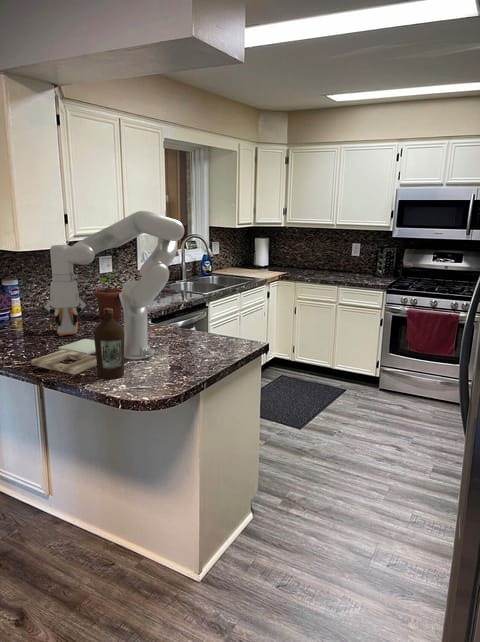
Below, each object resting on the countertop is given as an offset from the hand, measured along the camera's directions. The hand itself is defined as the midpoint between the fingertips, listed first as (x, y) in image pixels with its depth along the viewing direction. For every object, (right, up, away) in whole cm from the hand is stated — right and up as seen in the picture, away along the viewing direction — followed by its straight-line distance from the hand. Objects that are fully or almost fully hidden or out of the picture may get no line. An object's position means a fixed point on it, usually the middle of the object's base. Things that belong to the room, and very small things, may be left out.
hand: (66, 324), depth 177 cm
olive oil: (+19, -19, -8) cm, 28 cm away
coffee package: (-18, -5, +48) cm, 51 cm away
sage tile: (-1, -10, +25) cm, 27 cm away
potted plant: (-4, +2, +77) cm, 78 cm away
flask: (0, -3, +1) cm, 3 cm away
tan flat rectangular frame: (-1, -16, +3) cm, 16 cm away
